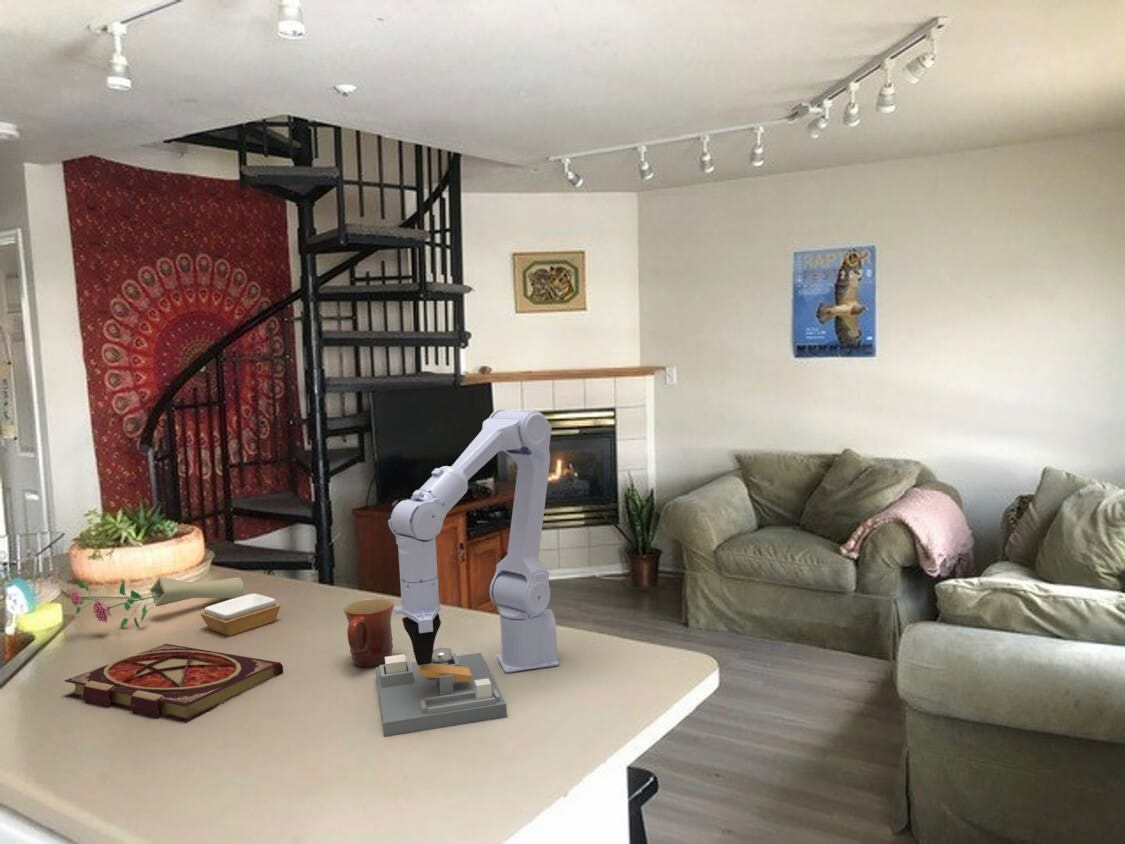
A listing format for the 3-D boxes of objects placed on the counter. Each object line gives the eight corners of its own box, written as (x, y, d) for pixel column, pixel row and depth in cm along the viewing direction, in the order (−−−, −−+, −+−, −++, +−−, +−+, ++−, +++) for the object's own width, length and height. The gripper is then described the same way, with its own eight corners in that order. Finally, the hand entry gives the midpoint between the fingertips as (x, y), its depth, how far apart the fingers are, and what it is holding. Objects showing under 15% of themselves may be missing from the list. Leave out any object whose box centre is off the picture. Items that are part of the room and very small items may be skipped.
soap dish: (256, 614, 180) (254, 591, 179) (282, 622, 174) (280, 598, 173) (201, 631, 170) (199, 606, 170) (226, 640, 164) (224, 615, 164)
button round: (450, 657, 140) (450, 646, 140) (453, 664, 137) (452, 653, 136) (430, 659, 139) (429, 649, 139) (432, 667, 136) (432, 656, 136)
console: (481, 663, 146) (480, 636, 145) (506, 716, 125) (505, 684, 124) (376, 678, 141) (374, 650, 141) (384, 736, 120) (382, 702, 120)
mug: (360, 651, 154) (356, 597, 153) (404, 653, 153) (401, 598, 152) (329, 677, 143) (325, 619, 142) (377, 679, 141) (373, 620, 140)
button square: (405, 664, 137) (404, 654, 137) (406, 671, 134) (406, 661, 134) (385, 667, 137) (384, 656, 136) (386, 674, 133) (385, 663, 133)
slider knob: (489, 695, 128) (488, 678, 127) (491, 701, 125) (491, 683, 125) (475, 698, 127) (474, 680, 127) (477, 703, 125) (476, 685, 125)
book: (283, 679, 146) (282, 651, 145) (182, 728, 127) (180, 696, 126) (169, 659, 158) (167, 633, 157) (61, 701, 139) (59, 672, 138)
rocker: (466, 675, 134) (468, 667, 134) (470, 684, 130) (472, 676, 130) (417, 670, 132) (418, 661, 132) (419, 679, 128) (421, 670, 128)
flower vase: (240, 634, 189) (79, 650, 161) (212, 610, 196) (54, 621, 168) (255, 586, 188) (97, 593, 159) (227, 564, 195) (70, 566, 166)
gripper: (389, 568, 135) (394, 650, 136) (396, 593, 121) (401, 684, 122) (433, 564, 136) (437, 644, 138) (444, 588, 122) (449, 677, 124)
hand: (423, 662), depth 130 cm, fingers closed
